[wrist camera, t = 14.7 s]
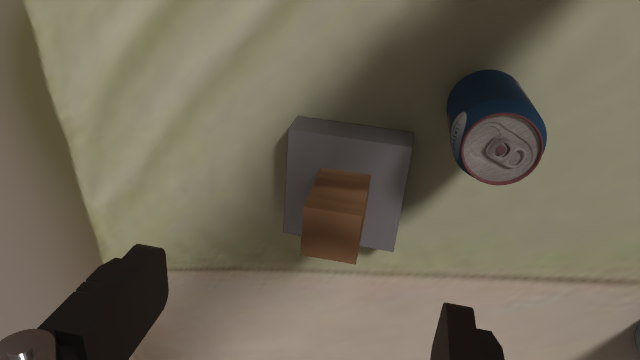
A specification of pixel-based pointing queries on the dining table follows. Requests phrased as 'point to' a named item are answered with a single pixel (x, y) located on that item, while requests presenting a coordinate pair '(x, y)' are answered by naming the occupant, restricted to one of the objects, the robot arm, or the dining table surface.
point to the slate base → (353, 156)
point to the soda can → (494, 128)
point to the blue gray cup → (637, 338)
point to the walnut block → (335, 215)
